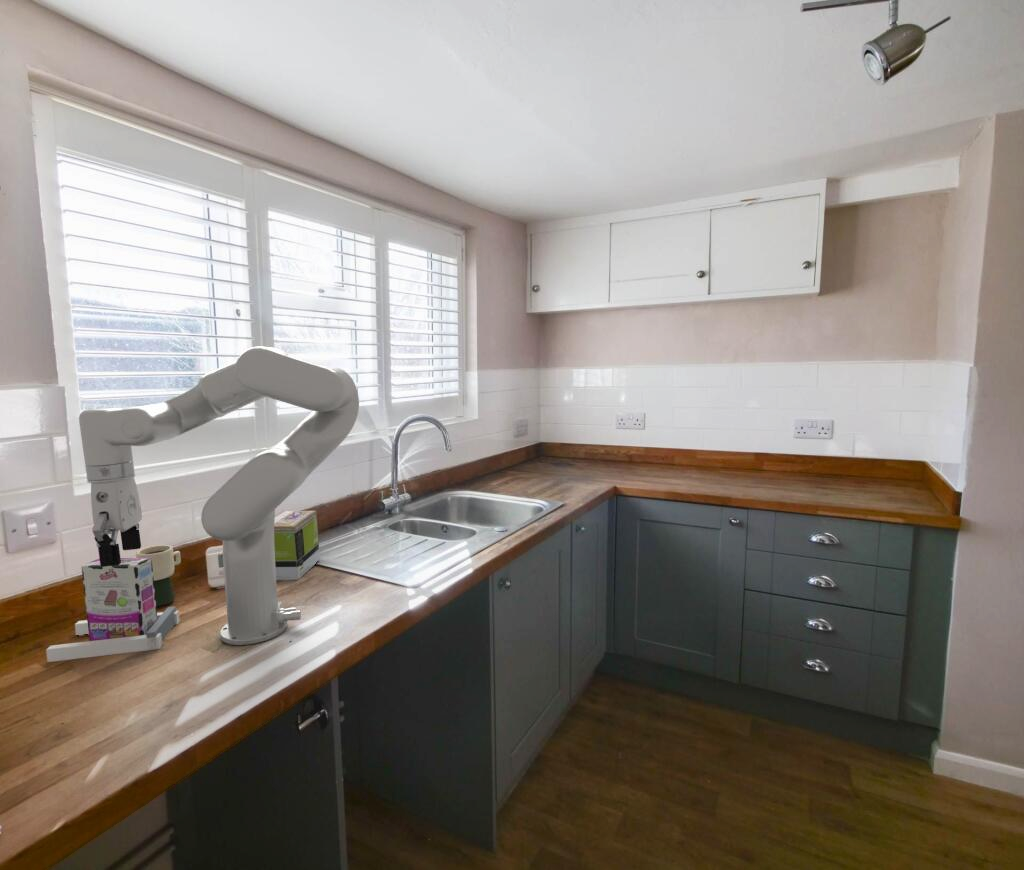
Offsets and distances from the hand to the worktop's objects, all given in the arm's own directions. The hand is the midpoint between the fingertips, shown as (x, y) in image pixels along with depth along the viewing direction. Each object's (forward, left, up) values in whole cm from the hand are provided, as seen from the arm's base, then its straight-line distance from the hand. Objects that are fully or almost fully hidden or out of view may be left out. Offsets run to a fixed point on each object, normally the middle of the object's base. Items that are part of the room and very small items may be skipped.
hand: (122, 556), depth 109 cm
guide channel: (+2, 0, -17) cm, 17 cm away
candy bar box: (+1, 0, -17) cm, 17 cm away
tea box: (-27, -32, -18) cm, 45 cm away
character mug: (0, -18, -17) cm, 25 cm away
